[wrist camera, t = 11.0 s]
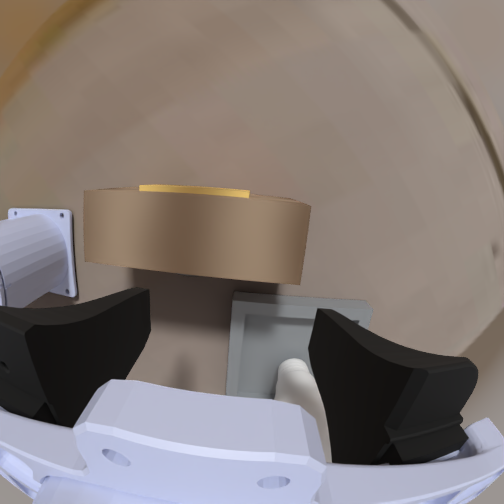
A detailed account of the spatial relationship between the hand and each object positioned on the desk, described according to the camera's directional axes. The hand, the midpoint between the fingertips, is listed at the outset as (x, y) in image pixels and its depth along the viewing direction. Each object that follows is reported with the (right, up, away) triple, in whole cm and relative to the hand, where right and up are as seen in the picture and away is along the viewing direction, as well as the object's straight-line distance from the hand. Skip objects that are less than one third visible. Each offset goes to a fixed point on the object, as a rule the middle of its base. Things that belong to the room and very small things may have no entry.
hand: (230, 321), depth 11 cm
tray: (+4, -6, +12) cm, 14 cm away
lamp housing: (-2, +5, +9) cm, 11 cm away
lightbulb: (+4, -7, +11) cm, 14 cm away
